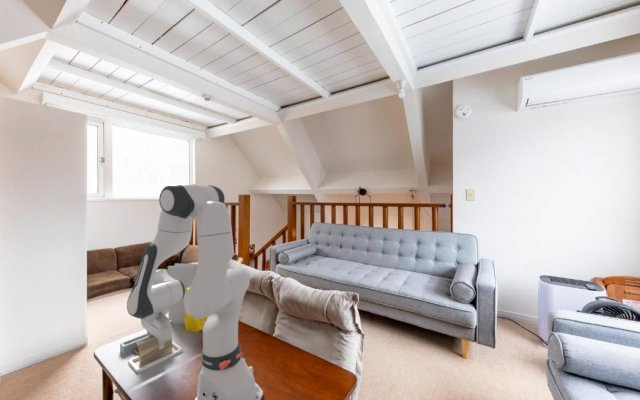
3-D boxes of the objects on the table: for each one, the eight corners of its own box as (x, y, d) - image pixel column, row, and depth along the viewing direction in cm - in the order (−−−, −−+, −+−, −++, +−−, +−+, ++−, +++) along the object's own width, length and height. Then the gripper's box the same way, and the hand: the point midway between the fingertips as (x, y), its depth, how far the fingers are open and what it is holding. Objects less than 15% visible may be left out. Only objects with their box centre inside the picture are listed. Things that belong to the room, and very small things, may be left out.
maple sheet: (172, 352, 104) (171, 330, 104) (141, 366, 96) (140, 343, 96) (170, 350, 106) (169, 329, 106) (139, 364, 97) (138, 341, 97)
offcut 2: (157, 341, 107) (157, 338, 107) (137, 348, 102) (137, 345, 102) (155, 338, 110) (155, 335, 110) (135, 345, 105) (135, 342, 105)
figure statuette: (215, 329, 123) (214, 285, 123) (203, 338, 116) (202, 291, 115) (187, 324, 129) (186, 281, 128) (174, 331, 121) (173, 286, 121)
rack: (171, 346, 110) (170, 335, 110) (129, 364, 98) (129, 353, 98) (159, 337, 117) (159, 327, 117) (119, 353, 105) (119, 342, 105)
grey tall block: (201, 320, 132) (200, 264, 132) (195, 326, 127) (194, 267, 126) (175, 319, 134) (175, 263, 133) (168, 324, 128) (167, 266, 128)
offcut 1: (162, 346, 108) (162, 343, 108) (137, 356, 101) (137, 353, 101) (157, 342, 111) (157, 339, 111) (133, 352, 104) (133, 349, 104)
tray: (182, 353, 104) (182, 348, 104) (137, 376, 92) (137, 370, 91) (172, 345, 110) (172, 341, 110) (128, 365, 97) (128, 360, 97)
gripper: (175, 314, 97) (176, 349, 97) (154, 301, 109) (154, 332, 109) (157, 320, 92) (158, 358, 92) (137, 306, 104) (137, 339, 104)
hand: (156, 344), depth 101 cm, fingers open, 8 cm apart
